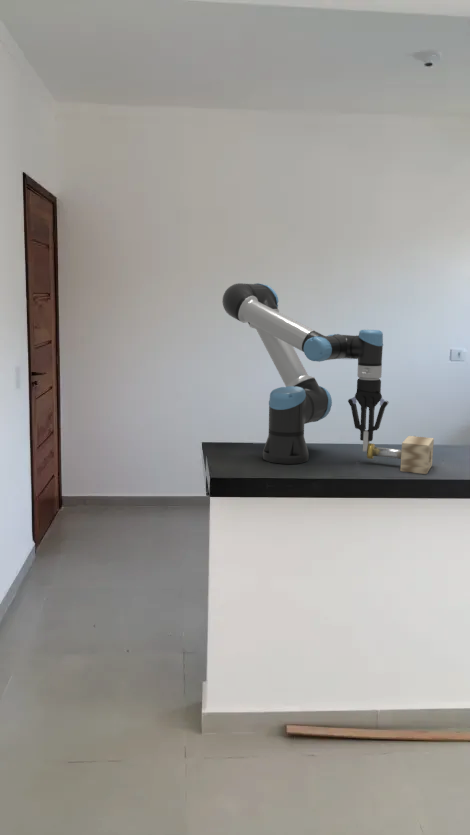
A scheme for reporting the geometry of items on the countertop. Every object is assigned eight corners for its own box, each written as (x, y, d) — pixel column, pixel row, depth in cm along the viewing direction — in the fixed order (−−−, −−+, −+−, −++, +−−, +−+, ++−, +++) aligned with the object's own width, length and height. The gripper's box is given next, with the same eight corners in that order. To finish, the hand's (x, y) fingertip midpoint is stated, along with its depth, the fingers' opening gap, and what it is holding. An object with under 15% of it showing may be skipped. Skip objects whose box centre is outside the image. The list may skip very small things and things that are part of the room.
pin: (366, 460, 224) (367, 444, 223) (369, 456, 229) (370, 441, 228) (409, 464, 219) (410, 449, 218) (411, 461, 223) (412, 446, 223)
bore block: (400, 471, 217) (402, 442, 215) (406, 462, 228) (408, 435, 226) (426, 474, 214) (428, 445, 212) (432, 465, 225) (433, 438, 223)
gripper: (346, 378, 221) (343, 450, 225) (387, 381, 216) (383, 455, 220) (351, 376, 228) (349, 446, 232) (391, 378, 223) (388, 450, 227)
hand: (365, 450), depth 226 cm, fingers closed
